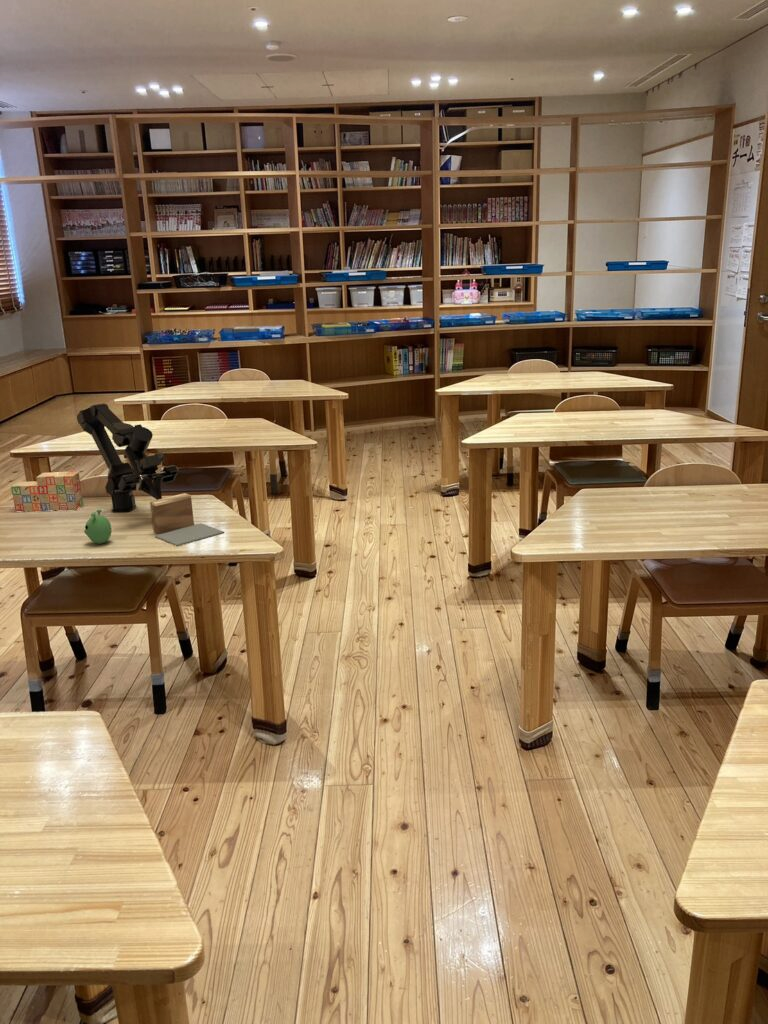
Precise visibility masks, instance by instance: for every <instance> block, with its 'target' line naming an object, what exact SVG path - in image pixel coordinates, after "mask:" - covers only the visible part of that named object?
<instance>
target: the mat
mask: <svg viewBox="0 0 768 1024" xmlns="http://www.w3.org/2000/svg"><path fill="white" fill-rule="evenodd" d="M222 533H223V534H225V531H224V530H220V529H219V528H216V527H214V526H213V527H212V526H209V525H207V524H205V523H202V522H201V523H197V524H194V525H193V526H189V527H185V528H181V529H178V530H174V531H170V532H166V533H163V534H159V535H158V534H156V535H154V538H156V539H158V540H160V539H161V540H160V541H163V542H165V541H166V542H165V543H168V544H170V543H171V544H170V545H172V544H174V545H173V546H175V545H176V546H175V547H180V546H183V545H182V544H184V545H187V544H191V543H193V541H195V542H197V541H201V539H202V540H205V539H208V537H209V538H212V537H215V535H216V536H219V535H223V534H222ZM218 534H219V535H218ZM190 542H191V543H190ZM186 543H187V544H186ZM179 545H180V546H179Z"/></svg>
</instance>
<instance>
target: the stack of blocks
mask: <svg viewBox="0 0 768 1024" xmlns="http://www.w3.org/2000/svg"><path fill="white" fill-rule="evenodd" d="M35 478H36V481H17V482H16V483H14V484H12V486H11V487H10V489H11V494H12V500H13V504H14V510H15V511H41V512H47V511H46V510H74V511H78V510H79V509H80V508H79V507H81V506H82V505H83V506H84V500H83V499H84V498H83V493H82V486H81V479H80V472H79V471H58V472H57V471H56V472H55V471H54V472H42V473H40V474H39V475H38V476H36V477H35ZM83 506H82V507H83ZM82 507H81V508H82ZM78 508H79V509H78ZM77 509H78V510H77ZM15 511H14V512H15Z"/></svg>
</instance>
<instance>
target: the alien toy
mask: <svg viewBox="0 0 768 1024" xmlns="http://www.w3.org/2000/svg"><path fill="white" fill-rule="evenodd" d="M102 512H103V510H102V509H97V510H96V512H92V513H91V514H90V516H91V517H90V518H88V520H87V522H86V523H85V526H84V530H83V532H84V534H85V535H86V536H87V538H88V539H89V540H90V541H91V542H93V544H98V545H99V544H100V545H101V544H104V543H106V542H108V541H109V539H110V538H111V536H112V524H111V522H110V521H109V519H108V518H107V517H106V516H104V515H101V513H102ZM97 513H98V514H97Z"/></svg>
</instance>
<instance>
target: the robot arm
mask: <svg viewBox="0 0 768 1024" xmlns="http://www.w3.org/2000/svg"><path fill="white" fill-rule="evenodd" d="M76 420H77V423H78V424H79V425H80V428H82V430H83V431H84V433H87V434H89V435H90V436H91V437H92V439H93V441H94V442H95V445H96V446H97V449H98V451H99V453H100V454H101V458H102V459H103V461H104V463H105V465H106V467H107V469H108V473H107V482H106V485H105V491H106V494H108V495H110V498H111V505H112V509H111V510H110V511H111V513H124V512H126V513H129V511H130V512H131V511H133V510H134V509H135V508H137V505H136V497H135V494H133V492H134V491H135V492H136V491H137V485H138V491H141V492H144V493H145V494H147V495H149V496H151V497H152V498H153V499H155V500H159V499H163V497H162V489H161V487H162V486H161V484H162V482H163V483H166V484H167V483H171V482H174V481H175V480H176V478H177V476H178V474H179V471H180V470H179V468H178V467H177V466H176V465H174V464H173V465H169V466H164V467H163V468H162V471H158V470H159V466H161V465H162V463H164V462H165V461H166V458H165V456H164V453H163V452H162V451H159V452H156V453H154V454H151V455H148V456H147V453H146V451H147V450H148V448H149V446H150V443H151V441H152V439H153V437H154V436H153V432H152V431H151V430H150V429H149V428H147V427H144V426H143V425H142V424H135V425H132V424H130V423H127V422H123V421H122V420H121V419H120V418H119V417H118V415H116V414H115V413H114V412H113V411H112V410H111V409H110V408H109V406H108V404H107V403H98V404H93V405H91V406H89V407H88V408H85V409H81V410H79V412H78V414H77V415H76ZM106 429H107V430H108V431H109V432H110V433H111V435H112V437H111V438H112V440H111V438H110V436H109V434H108V432H107V430H106ZM114 444H115V445H116V446H117V447H119V448H122V447H123V448H124V447H125V449H124V452H123V459H127V460H128V462H123V461H122V459H121V457H120V455H119V454H118V451H117V449H116V447H115V446H114ZM157 471H158V472H157ZM132 509H133V510H132Z"/></svg>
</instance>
